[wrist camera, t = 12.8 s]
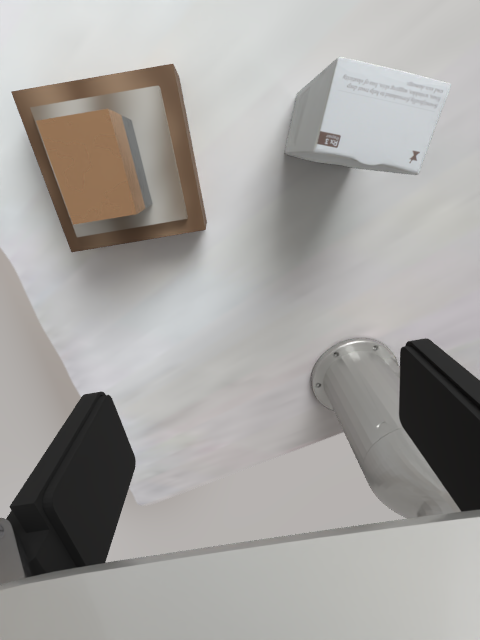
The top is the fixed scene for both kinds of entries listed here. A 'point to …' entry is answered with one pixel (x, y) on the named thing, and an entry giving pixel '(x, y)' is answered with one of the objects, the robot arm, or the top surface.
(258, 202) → the top surface
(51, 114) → the walnut stand
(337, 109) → the skincare box
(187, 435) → the top surface
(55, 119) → the block
